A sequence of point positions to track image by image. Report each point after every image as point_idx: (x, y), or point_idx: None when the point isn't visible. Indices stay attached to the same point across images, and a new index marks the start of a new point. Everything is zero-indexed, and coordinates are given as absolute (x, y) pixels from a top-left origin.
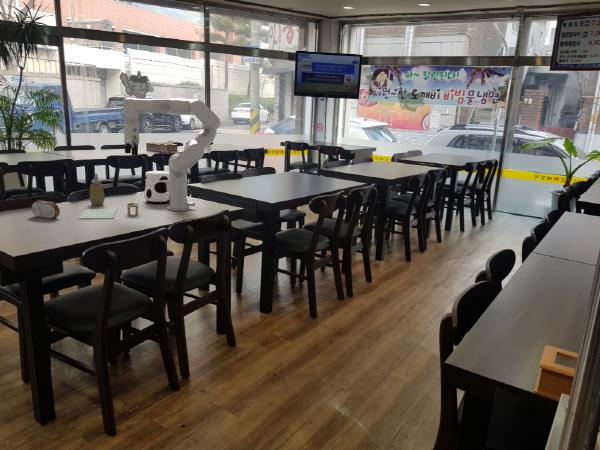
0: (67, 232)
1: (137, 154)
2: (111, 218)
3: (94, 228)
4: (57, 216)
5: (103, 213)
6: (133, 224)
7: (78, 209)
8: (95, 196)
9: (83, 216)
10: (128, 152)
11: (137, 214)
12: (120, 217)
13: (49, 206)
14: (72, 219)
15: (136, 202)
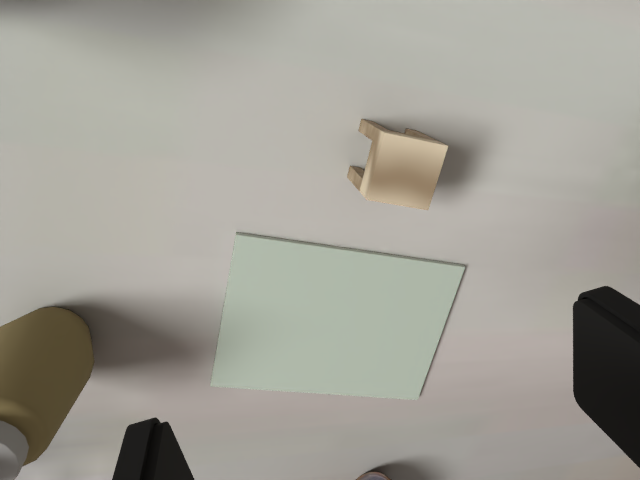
0: None
1: (613, 299)
2: (461, 271)
3: None
4: (378, 473)
5: (350, 307)
6: (611, 180)
7: (188, 413)
8: (84, 381)
9: (392, 386)
10: (183, 478)
11: (417, 131)
12: (441, 227)
13: None
14: (410, 417)
15: (422, 147)
